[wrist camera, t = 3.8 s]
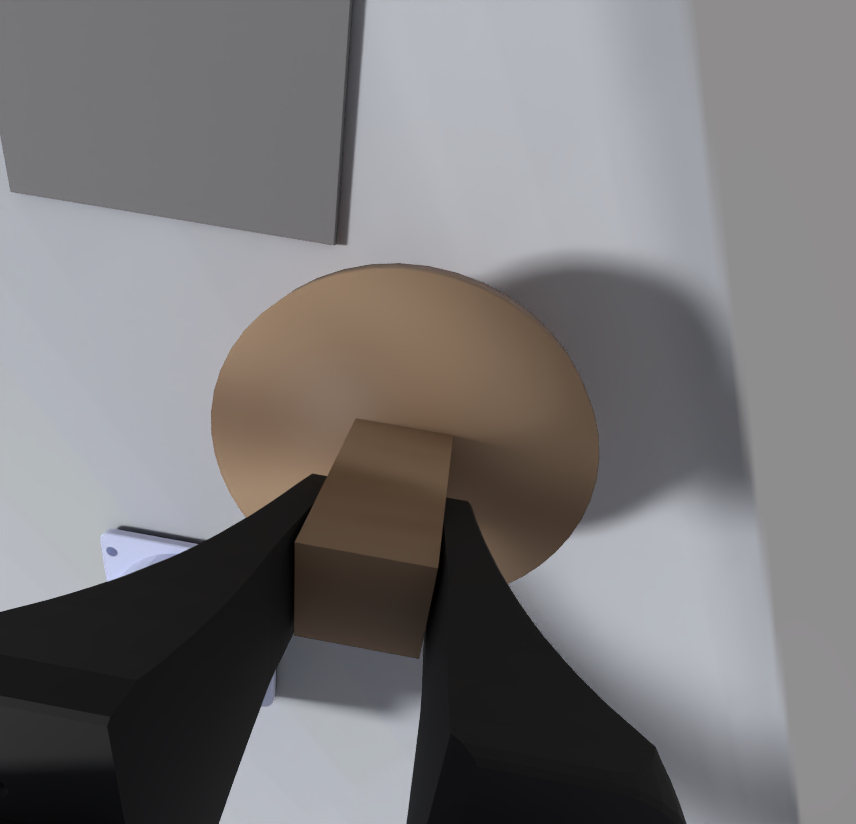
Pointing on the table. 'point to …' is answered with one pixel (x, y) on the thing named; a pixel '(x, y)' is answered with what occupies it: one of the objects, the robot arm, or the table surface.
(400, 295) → the lid
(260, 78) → the mat
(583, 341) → the table surface
